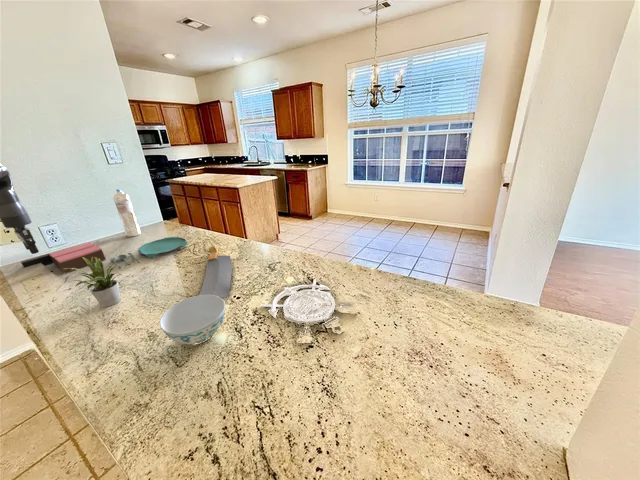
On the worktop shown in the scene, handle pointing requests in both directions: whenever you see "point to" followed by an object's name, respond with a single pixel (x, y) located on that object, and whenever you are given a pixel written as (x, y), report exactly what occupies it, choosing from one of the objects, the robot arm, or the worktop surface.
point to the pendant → (305, 304)
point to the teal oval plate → (155, 248)
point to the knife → (38, 261)
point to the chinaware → (193, 319)
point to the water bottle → (126, 214)
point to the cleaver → (217, 275)
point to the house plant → (101, 283)
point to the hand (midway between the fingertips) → (32, 251)
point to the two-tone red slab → (76, 257)
